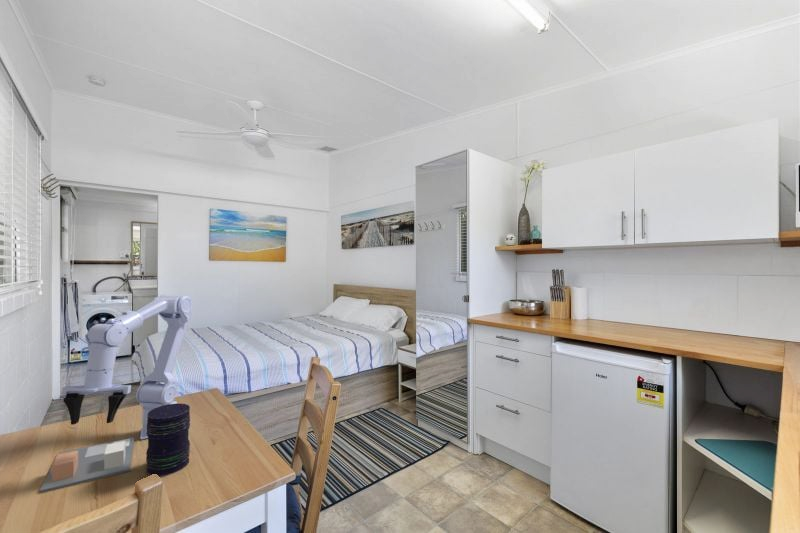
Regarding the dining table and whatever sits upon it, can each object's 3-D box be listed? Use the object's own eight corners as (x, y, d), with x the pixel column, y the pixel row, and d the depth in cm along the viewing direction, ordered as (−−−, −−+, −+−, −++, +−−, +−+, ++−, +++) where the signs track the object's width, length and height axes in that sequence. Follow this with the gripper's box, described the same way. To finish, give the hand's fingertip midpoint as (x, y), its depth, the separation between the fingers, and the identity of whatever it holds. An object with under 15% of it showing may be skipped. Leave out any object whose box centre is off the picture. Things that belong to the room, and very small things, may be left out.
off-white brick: (125, 454, 101) (125, 440, 101) (123, 465, 96) (123, 450, 96) (107, 458, 99) (107, 444, 99) (104, 469, 94) (104, 454, 94)
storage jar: (142, 480, 91) (143, 421, 91) (149, 460, 99) (149, 406, 99) (188, 470, 95) (189, 414, 95) (190, 452, 104) (191, 401, 104)
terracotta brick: (78, 465, 95) (78, 450, 95) (73, 476, 90) (73, 461, 90) (57, 469, 93) (57, 454, 93) (51, 482, 88) (51, 465, 88)
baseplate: (134, 439, 111) (134, 436, 111) (129, 471, 94) (129, 468, 94) (59, 454, 102) (59, 451, 102) (39, 493, 85) (39, 490, 85)
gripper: (58, 371, 90) (48, 428, 89) (126, 371, 95) (118, 425, 93) (73, 367, 97) (65, 420, 95) (136, 367, 101) (129, 418, 99)
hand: (92, 422), depth 94 cm, fingers open, 7 cm apart
